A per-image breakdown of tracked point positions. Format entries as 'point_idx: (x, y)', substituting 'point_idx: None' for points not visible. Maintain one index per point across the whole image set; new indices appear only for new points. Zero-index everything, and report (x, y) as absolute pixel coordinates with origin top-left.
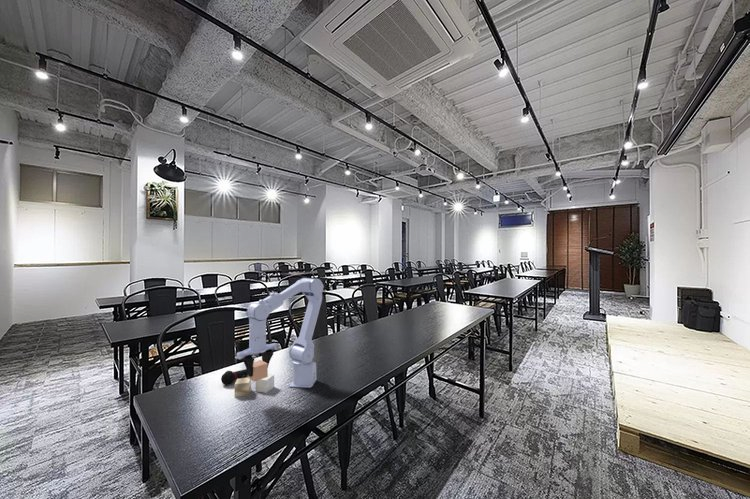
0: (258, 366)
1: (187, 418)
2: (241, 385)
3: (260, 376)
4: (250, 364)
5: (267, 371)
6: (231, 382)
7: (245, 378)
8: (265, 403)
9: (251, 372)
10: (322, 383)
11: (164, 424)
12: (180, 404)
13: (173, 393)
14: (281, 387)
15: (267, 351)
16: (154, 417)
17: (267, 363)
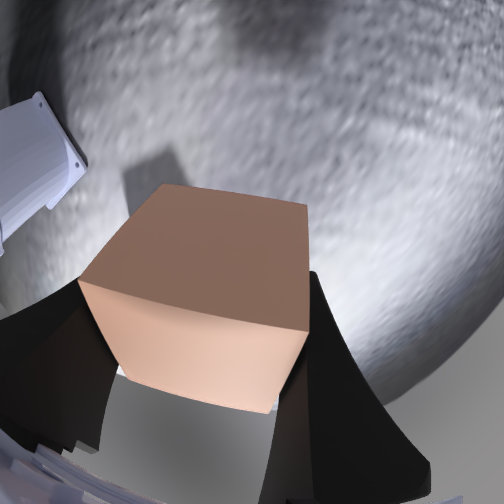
0: (232, 313)
1: (449, 295)
2: None
3: (233, 207)
4: (362, 407)
5: (136, 210)
6: None
7: None
8: (243, 119)
9: (320, 300)
10: (11, 97)
11: (474, 312)
12: (386, 361)
13: None
14: (110, 194)
15: (15, 425)
16: (446, 350)
17: (80, 277)
